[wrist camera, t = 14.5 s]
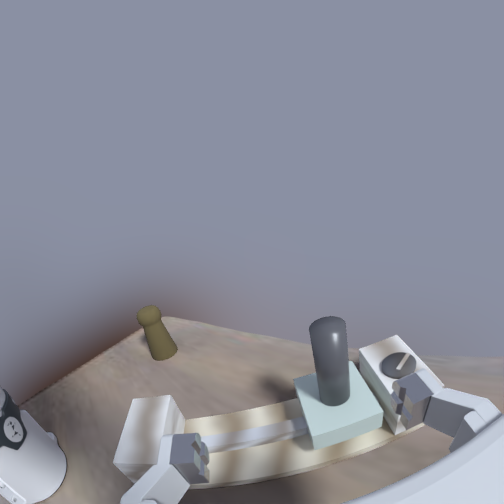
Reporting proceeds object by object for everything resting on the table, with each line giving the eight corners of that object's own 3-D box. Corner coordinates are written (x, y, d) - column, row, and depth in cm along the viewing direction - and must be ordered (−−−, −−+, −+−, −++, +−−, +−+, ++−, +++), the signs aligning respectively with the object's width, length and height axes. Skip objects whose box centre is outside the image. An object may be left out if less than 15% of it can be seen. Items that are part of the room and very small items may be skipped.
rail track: (140, 488, 25) (109, 459, 23) (152, 427, 36) (131, 395, 34) (434, 419, 25) (445, 381, 23) (394, 369, 37) (396, 330, 35)
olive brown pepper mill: (164, 342, 62) (147, 300, 59) (182, 347, 58) (165, 302, 55) (147, 357, 57) (127, 314, 54) (164, 363, 54) (144, 317, 51)
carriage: (315, 456, 26) (299, 369, 22) (298, 401, 35) (278, 314, 31) (380, 433, 26) (387, 339, 22) (352, 384, 35) (346, 294, 31)
